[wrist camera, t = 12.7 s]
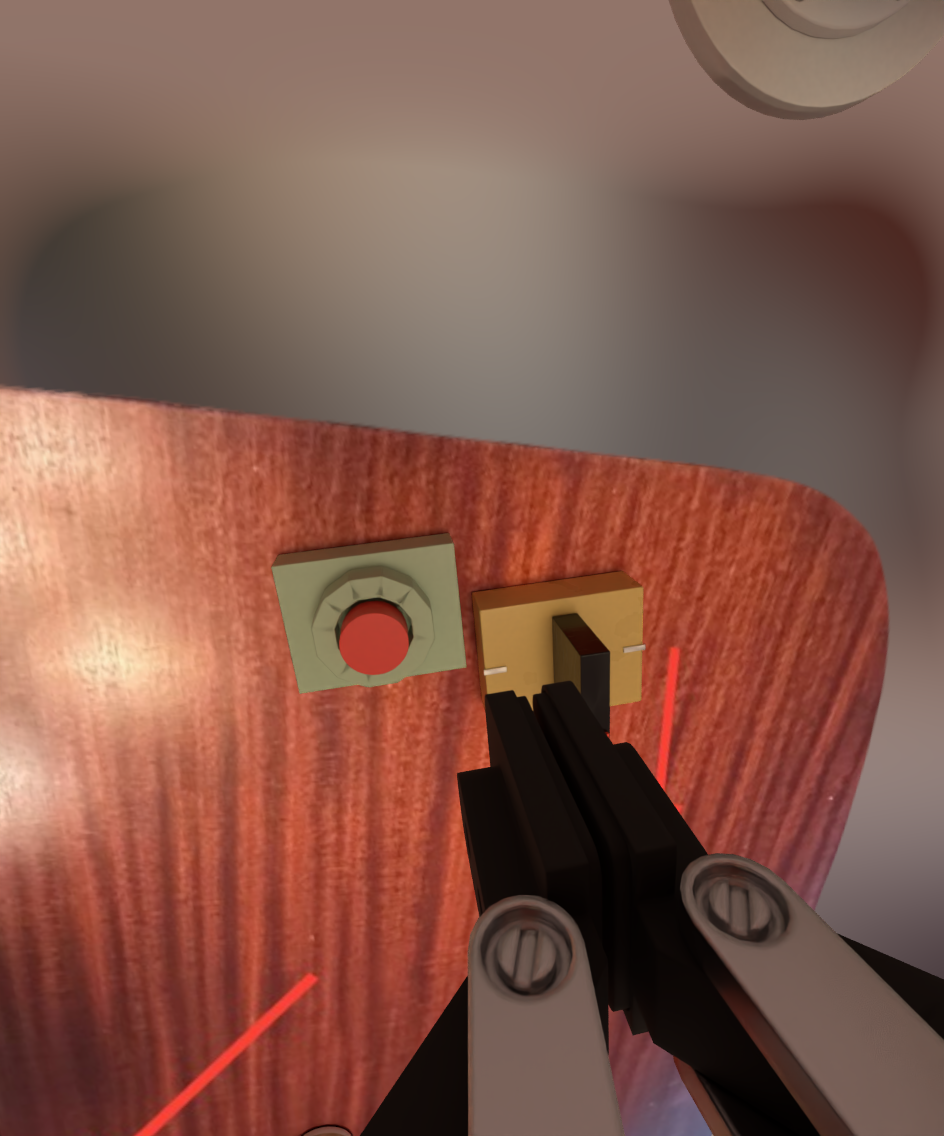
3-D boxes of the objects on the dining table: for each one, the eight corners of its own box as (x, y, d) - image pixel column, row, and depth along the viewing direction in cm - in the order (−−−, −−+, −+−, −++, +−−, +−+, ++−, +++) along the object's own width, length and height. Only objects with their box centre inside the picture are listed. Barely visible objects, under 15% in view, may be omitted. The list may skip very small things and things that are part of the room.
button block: (449, 532, 33) (458, 552, 29) (461, 650, 36) (471, 682, 32) (278, 554, 32) (264, 577, 28) (304, 675, 34) (295, 711, 31)
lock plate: (624, 570, 36) (646, 587, 33) (623, 677, 38) (644, 702, 35) (469, 592, 34) (478, 612, 31) (480, 701, 37) (488, 729, 34)
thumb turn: (551, 616, 32) (582, 658, 27) (577, 612, 32) (612, 653, 28) (554, 703, 34) (583, 757, 29) (578, 699, 34) (611, 752, 30)
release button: (402, 595, 30) (404, 608, 28) (411, 654, 31) (412, 669, 29) (336, 605, 29) (333, 618, 28) (346, 664, 31) (345, 680, 29)
